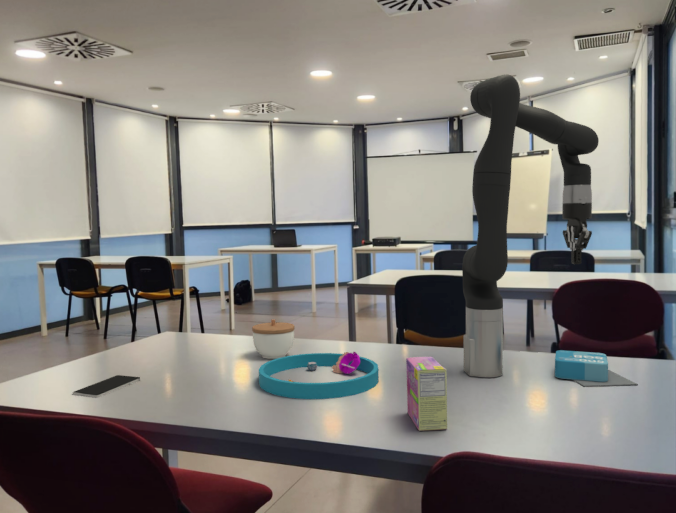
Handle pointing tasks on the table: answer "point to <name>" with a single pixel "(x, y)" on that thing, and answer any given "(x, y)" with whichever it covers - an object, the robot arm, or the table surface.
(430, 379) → the box
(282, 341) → the lidded bowl
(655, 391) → the table surface
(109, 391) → the smartphone
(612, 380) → the slate mat
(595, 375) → the teal rounded block
